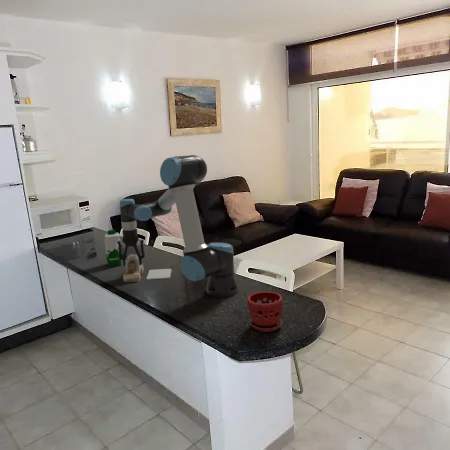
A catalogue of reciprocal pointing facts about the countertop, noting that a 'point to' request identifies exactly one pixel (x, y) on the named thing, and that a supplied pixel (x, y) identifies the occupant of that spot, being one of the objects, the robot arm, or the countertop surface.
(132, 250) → the small grey backpack
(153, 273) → the mat
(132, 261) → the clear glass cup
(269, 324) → the plant pot
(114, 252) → the milk carton
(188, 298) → the countertop surface
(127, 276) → the plane body
